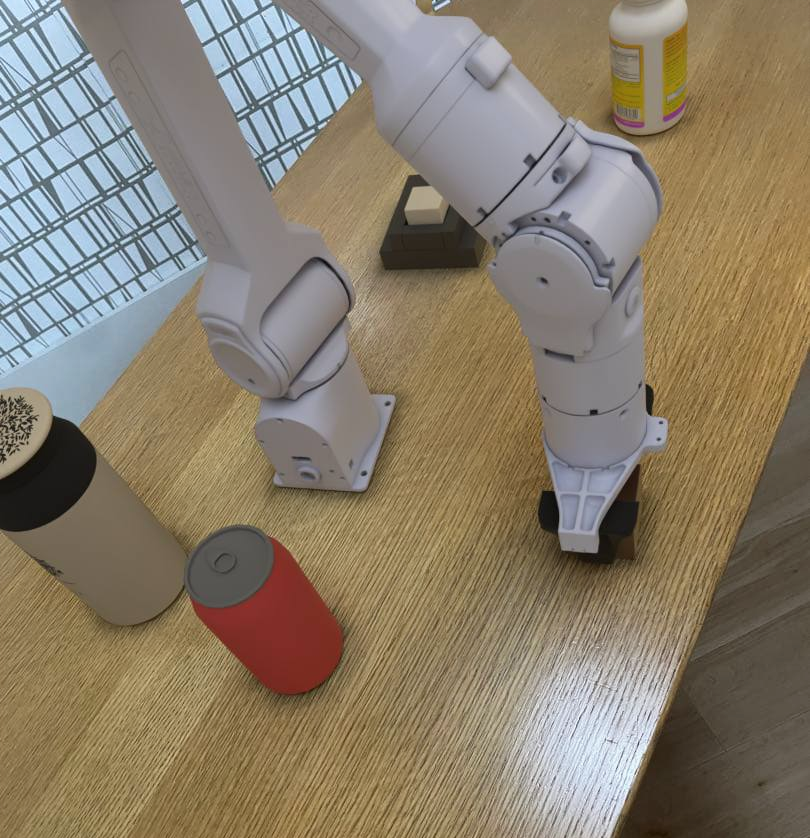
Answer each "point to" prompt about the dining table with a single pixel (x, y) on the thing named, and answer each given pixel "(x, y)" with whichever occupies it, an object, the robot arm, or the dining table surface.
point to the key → (425, 206)
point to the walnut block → (634, 493)
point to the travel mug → (81, 515)
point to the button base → (429, 239)
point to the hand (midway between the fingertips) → (603, 517)
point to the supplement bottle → (648, 64)
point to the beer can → (263, 608)
